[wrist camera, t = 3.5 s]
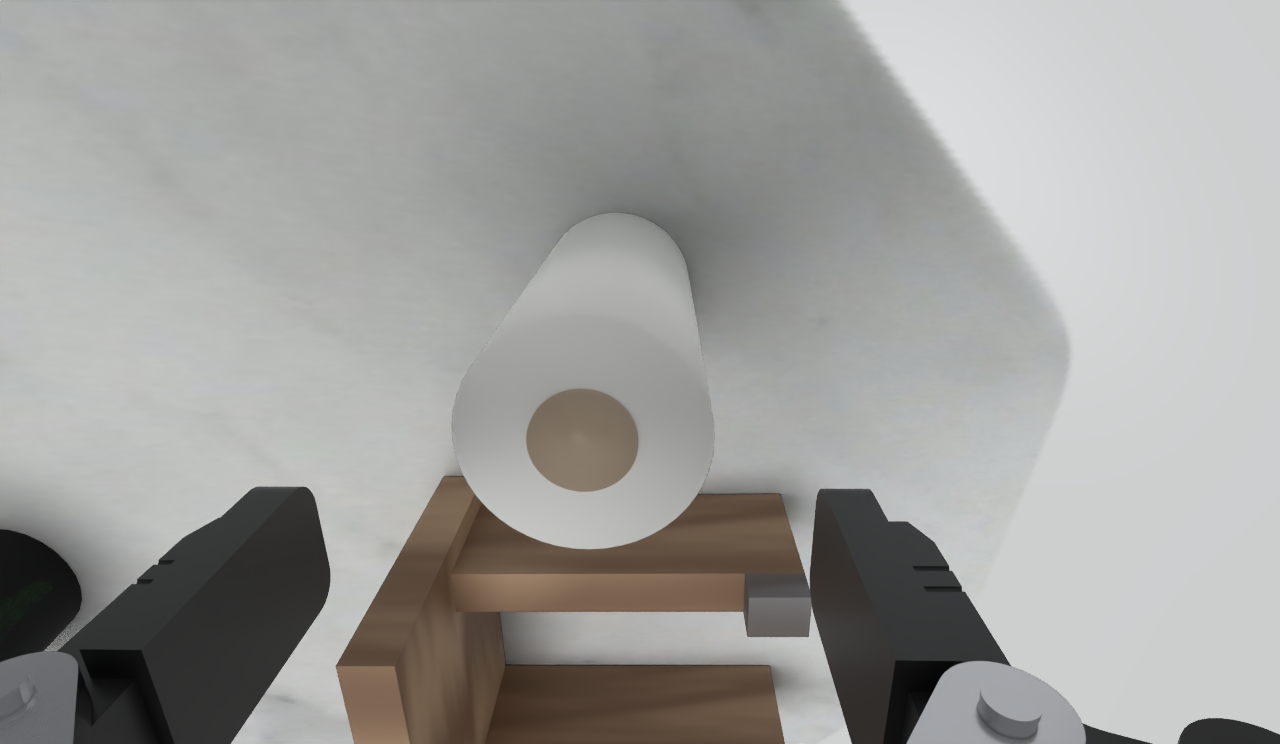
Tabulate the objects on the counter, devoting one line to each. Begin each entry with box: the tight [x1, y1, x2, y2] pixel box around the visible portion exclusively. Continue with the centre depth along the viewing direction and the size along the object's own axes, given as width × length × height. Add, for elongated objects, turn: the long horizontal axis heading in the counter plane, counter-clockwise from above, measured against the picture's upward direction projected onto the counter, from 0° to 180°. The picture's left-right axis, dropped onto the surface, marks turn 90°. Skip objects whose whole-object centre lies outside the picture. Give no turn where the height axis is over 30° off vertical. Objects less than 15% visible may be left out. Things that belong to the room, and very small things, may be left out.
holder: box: [336, 477, 812, 744], centre depth 25 cm, size 12×14×10 cm
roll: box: [452, 213, 715, 549], centre depth 19 cm, size 5×5×12 cm
